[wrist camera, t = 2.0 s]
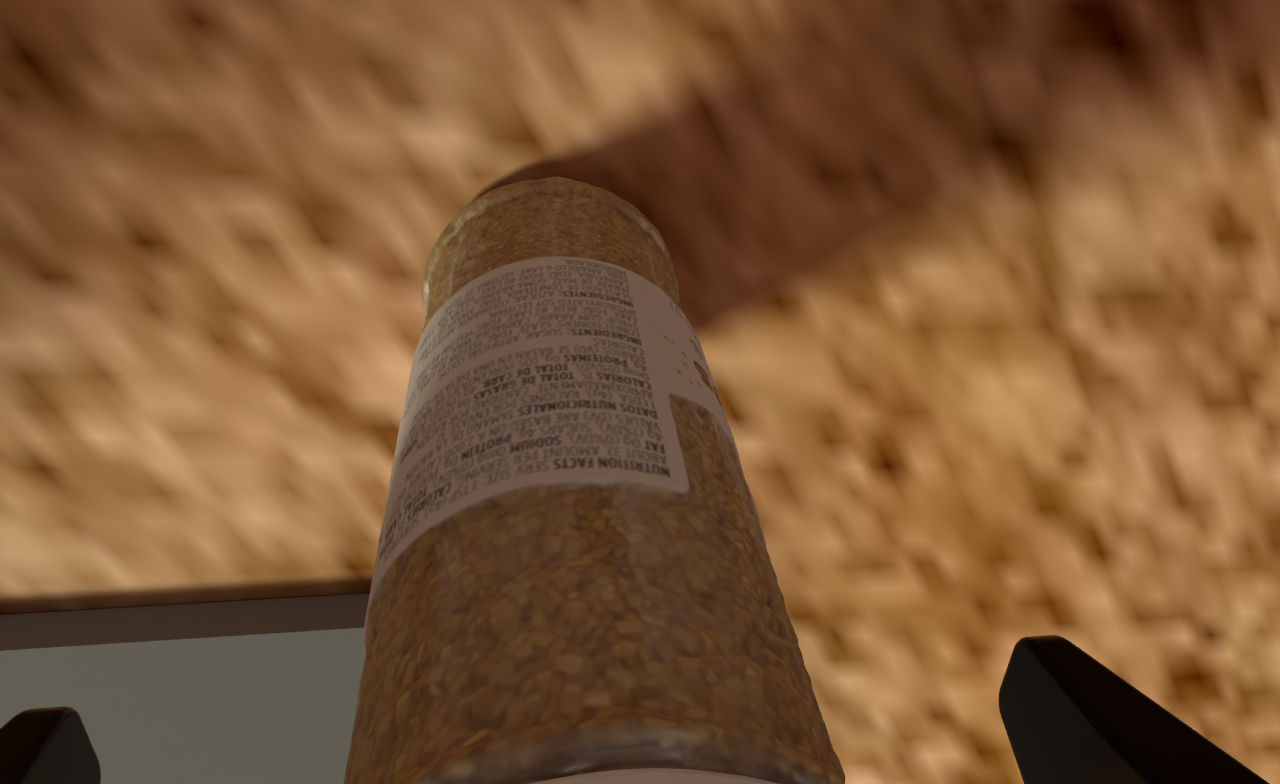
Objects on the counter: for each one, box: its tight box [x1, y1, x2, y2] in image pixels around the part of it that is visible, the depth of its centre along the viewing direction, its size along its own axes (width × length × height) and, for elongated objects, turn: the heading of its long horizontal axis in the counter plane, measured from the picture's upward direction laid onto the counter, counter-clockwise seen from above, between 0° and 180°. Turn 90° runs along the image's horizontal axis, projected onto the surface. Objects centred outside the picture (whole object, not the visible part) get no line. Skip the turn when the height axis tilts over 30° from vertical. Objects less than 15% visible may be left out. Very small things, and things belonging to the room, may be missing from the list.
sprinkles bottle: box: [344, 177, 845, 784], centre depth 11 cm, size 5×5×13 cm
